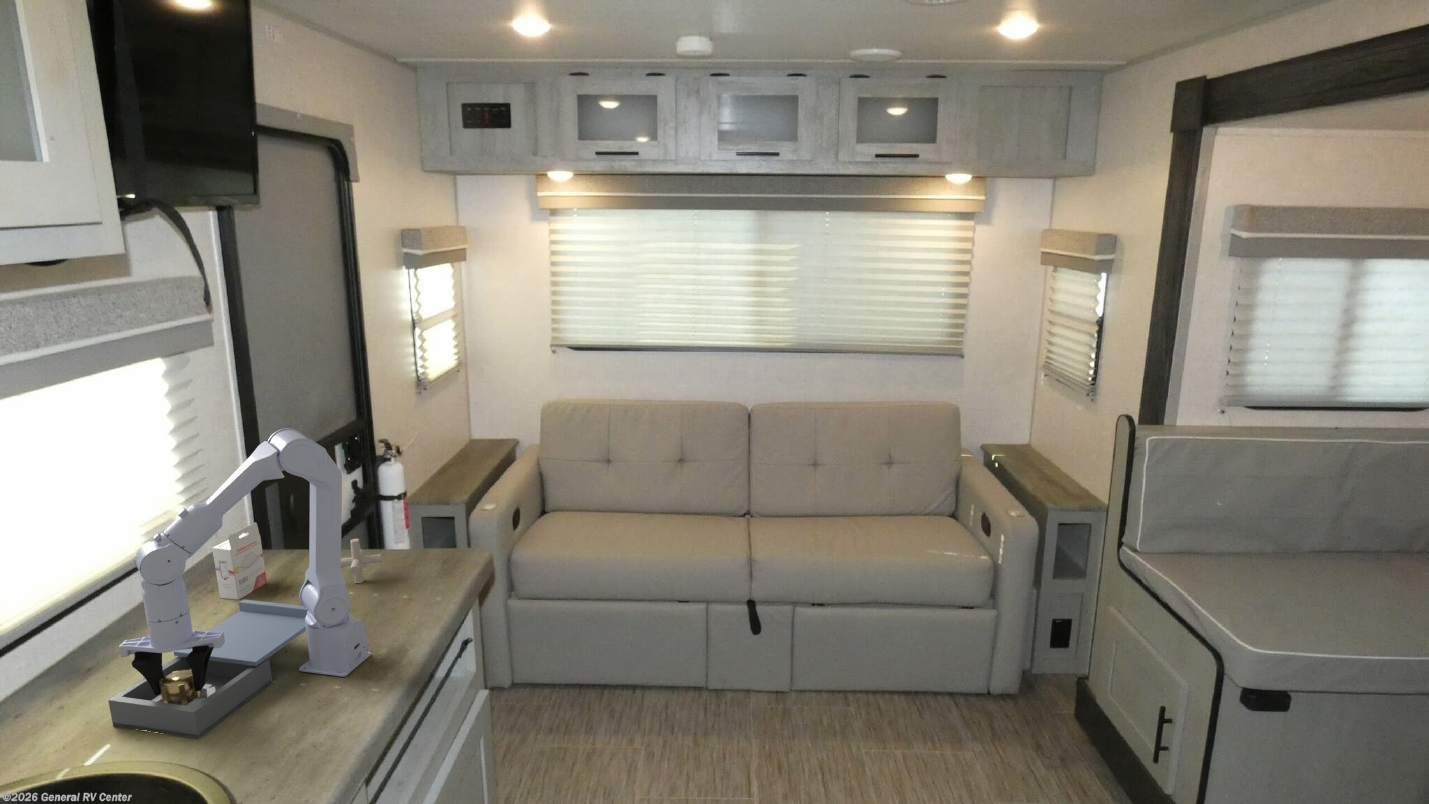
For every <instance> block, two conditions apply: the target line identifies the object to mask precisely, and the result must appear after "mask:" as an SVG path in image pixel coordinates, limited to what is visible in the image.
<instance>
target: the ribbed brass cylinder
mask: <svg viewBox="0 0 1429 804" xmlns="http://www.w3.org/2000/svg"><path fill="white" fill-rule="evenodd" d="M159 686H160V692H161V698H162V702H164V703H170V704H177V705H185V706H186V705H188V703H190V702H192V701H194V700H195V699H196V698H199V697H200V691H195V688H194V682H193V675H192V671H191V669H190V670H181V671H174V672H172V673H171V674H169V675H167V676H166V677H164V678H162V679H160V680H159Z"/></svg>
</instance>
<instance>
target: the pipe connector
mask: <svg viewBox="0 0 1429 804" xmlns="http://www.w3.org/2000/svg"><path fill="white" fill-rule="evenodd" d="M350 552H351V553H350V554H351V556H350V557H349V556H348V557H341V568H342V567H349V566H350V569H349V573H350V574H352V575H353V579H354V584H355V583H360V584H362V583H363V582H364V575H363V565H367V564H368V565H369V564H377V563H382V554H381V553H378V554H369V555H364V553H365V552H364V550H363V549H362V548H361V545H360V539H359V538H353V539H350Z"/></svg>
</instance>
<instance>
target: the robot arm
mask: <svg viewBox="0 0 1429 804" xmlns="http://www.w3.org/2000/svg"><path fill="white" fill-rule="evenodd" d="M283 471H285V472H286V473H288V474H290V475H293V476H297V477H300V478H303V479H304V480H306V481H308V482H309V537H308V539H309V540H308V541H309V544H308V545H309V546H308V547H309V549H308V550H309V552H308V553H309V554H308V555H309V557H308V559H309V563H308V568H307V569H306V571H305V572H304V573H305V574H304V575H305V576H304V577H305V578H304V582H303V584H302V586H301V588H300V590H299V594H298V596H299V600H300V603H301V604H302V606H305V607H307V609H308V611H307V615H306V618H305V625H306V631H305V632H306V640H307V641H306V642H307V649H308V657H309V660H308V661H306V662H305V663H304V664H302V665H301V666H300V667H299V668H298V670H299V672H305V673H311V674H319V675H325V676H326V675H327V676H328V675H329V676H335V677H343V678H344V677H347V676H348V675H349V674H350V673H352V672H354V670H355V669H356V668H358V666H360V665H361V664H362V663H363V662H364V661H365V660H366V659H368V658H369V657H370V656H371V655H372V652H371V651H369V648H368V646H369V645H368V638H367V636H368V635H367V628H366V624H365V623H364V622H363V621H362V620H361V619H357V618H355V617H353V616H352V615H350V612H351V610H352V601H351V598H350V597H349V595H348V593H347V586H346V585H347V583H346V580H345V578H344V573H343V571H342V567H341V558H342V512H343V511H342V505H343V504H342V503H343V500H342V498H343V475H342V474H343V473H342V471H341V469H340V468H339V466H338V465H337V464H336V463H335V461H334V460H333V459H332V457H331V456H330V455H329V453H328V451H327V449H326V448H325V447H323V445H320V444H319V443H317V442H315V441H314V440H313V439H312V438H310V437H308V436H307V435H306V434H304V433H302V432H301V431H299V430H297V429H295V428H288V427H287V428H280V429H278V430H276V431H275V432H273V433H272V434H271V435H270V436H269V438H268V439H267V441H266V440H264V441H263V442H261V443H260V444H259V445H258V446H257V447H256V448H255V450H254V451H253V452H252V453H251V454H250V455H249V457H247V458H246V460H245V461H244V462H243V463H242V464H241V465H240V466H239V467H238V468H237V469H236V470H235V471H234V472H233V473H232V474H231V475H230V476H229V477H228V478H227V480H226V481H225V482H224V483H223V484H221V486H220V487H219V488H218V489H217V490H216V491H215V492H214V493H213V494H212V495H211V496H210V497H209V498H208V499H207V500H206V501H204V502H197V503H192V504H191V505H189V506H188V507H187V508H186V507H182V508H180V510H179V511H177V518H175V520H173V522H171V523H170V524H169V525H168V526H167V527H166V528H165V529H164V530H163V531H162V532H160V533H158V532H157V533H155V534H154V535H153V536H152V539H153V540H152V541H147V542H145V543H144V544H143V545H141V547H140V548H139V549H138V550H137V551H136V556H135V558H134V559H133V561H134V562H133V563H134V565H135V567H136V568H137V569H138V571H139V574H140V578H141V581H140V585H141V588H142V590H141V591H142V592H141V595H142V600H143V601H142V602H143V606H144V612H145V613H144V614H145V618H146V619H145V620H146V624H147V630H148V636H142V637H139V638H133V639H125V640H123V642H122V643H121V644H119V646H118V649H119V650H118V651H119V655H120V658H125V657H126V658H127V657H129V656H130V655H134V656H133V658H134V659H133V660H132V661H131V667H132V668H133V669H135V670H136V671H137V672H139V673H140V675H142V676H143V678H145V679H146V680H147V682H148V683H149V685H150V686H151V688H152V690H153V692H154V694H155V695H160V694H161V692H160V686H159V680H160V679H162V678H164V674H163V668H162V666H163V654H167V653H171V652H174V651H177V650H183V649H192V652H190V654H189V655H188V656H187V657H186V660H187V662H188V664H189V666H190V669H191V671H192V675H193V682H194V688H195V691H201V689H202V688H203V687H204V685H205V677H206V670H207V666H208V662H209V659H210V656H211V653H212V651H213V648H215V649H216V648H221V647H222V646H223V644H224V643H225V638H224V632H207V631H208V630H206V631H203V630H195V629H193V625H192V620H191V613H190V607H189V600H188V594H187V593H188V592H187V587H186V583H185V582H184V579H183V573H184V572H185V569H186V562H187V560H188V559H190V558H191V557H193V555H194V554H196V552H197V553H198V550H200V549H201V548H202V547H203V546H204V545H205V544H206V543H207V542H208V541H209V540H210V539H211V538H212V537H213V536H214V535H215V534H217V532H218V531H219V530H221V529H222V527H223V517H224V515H225V514H226V513H228V511H230V510H231V509H232V508H233V507H234V506H235V505H237V504H238V503H239V502H240V501H241V500H242V499H243V498H244V497H246V496H247V495H248V494H249V493H250V492H251V491H253V490H254V489H255V488H256V487H257V486H258V485H260V483H262V482H263V481H270V480H278V479H284V478H286V477H285V475H284V474H283Z"/></svg>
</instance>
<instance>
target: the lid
mask: <svg viewBox="0 0 1429 804" xmlns="http://www.w3.org/2000/svg"><path fill="white" fill-rule="evenodd" d="M238 605H239V606H238V607H239V611H237V612H236V613H234V614H233V615H231V616H229V617H228V618H225V620H222V621H221V622H220V623H218V624H216V625H214V626H213V627H211V628H210V629H208V630H206V631H207V632H224V638H225V643H224V644H223V646H222V647H221V648H216V649H215V648H213V651H212V653H211V656H210V659H209V660H211V661H219V662H227V663H235V664H243V665H250V666H257V665H259V664H260V663H261V662H263V661H264V660H266V659H267V658H270V657H271V656H273V655H274V654H275V653H277V652H278V651H279V650H281V649H282V648H284V647H285V646H287V645H288V644H289V643H290V642H292V641H294V640H295V639H296V638H299V636H300V635H302V634H303V633H304V632H306V625H305V618H306V615H307V611H308V609H307V607H305V606H304V605H298V604H290V603H279V602H271V601H270V602H269V601H261V600H252V599H243V598H242V600H241V601H238ZM190 652H192V649H183V650H177V651H173V656H175V657H178V656H180V657H187V656H188V655H189V654H190Z"/></svg>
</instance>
